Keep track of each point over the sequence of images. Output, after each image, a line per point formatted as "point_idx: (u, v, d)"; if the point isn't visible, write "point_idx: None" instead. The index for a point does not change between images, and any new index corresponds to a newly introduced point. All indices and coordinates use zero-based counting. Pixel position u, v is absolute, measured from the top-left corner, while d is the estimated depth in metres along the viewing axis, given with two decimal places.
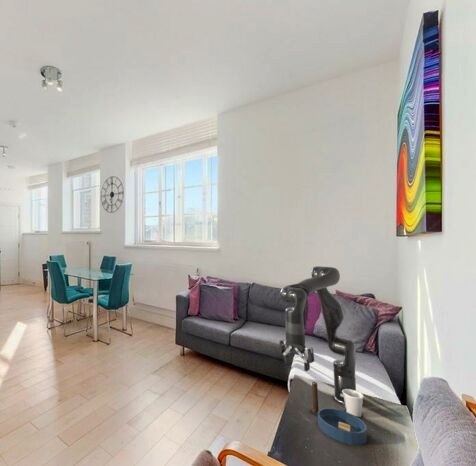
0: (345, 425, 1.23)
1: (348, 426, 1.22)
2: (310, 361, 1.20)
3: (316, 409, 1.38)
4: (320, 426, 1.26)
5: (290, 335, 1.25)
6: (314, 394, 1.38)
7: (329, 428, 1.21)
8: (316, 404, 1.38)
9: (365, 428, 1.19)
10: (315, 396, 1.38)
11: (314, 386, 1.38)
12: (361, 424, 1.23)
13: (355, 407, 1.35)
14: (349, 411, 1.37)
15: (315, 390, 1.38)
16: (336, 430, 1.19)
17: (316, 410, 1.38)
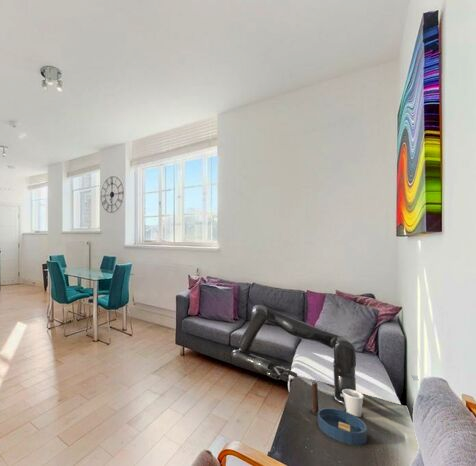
0: (345, 425, 1.23)
1: (348, 426, 1.22)
2: None
3: (316, 409, 1.38)
4: (320, 426, 1.26)
5: None
6: (314, 394, 1.38)
7: (329, 428, 1.21)
8: (316, 404, 1.38)
9: (365, 428, 1.19)
10: (315, 396, 1.38)
11: (314, 386, 1.38)
12: (361, 424, 1.23)
13: (355, 407, 1.35)
14: (349, 411, 1.37)
15: (315, 390, 1.38)
16: (336, 430, 1.19)
17: (316, 410, 1.38)
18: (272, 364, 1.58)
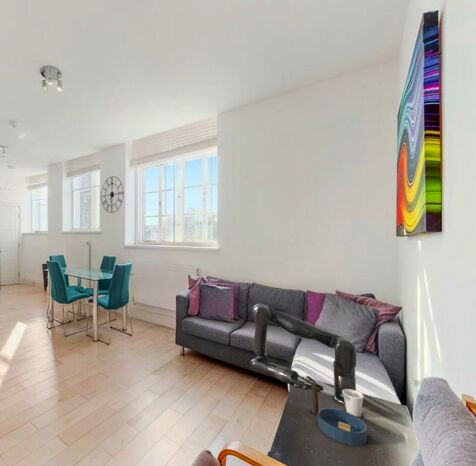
0: (345, 425, 1.23)
1: (348, 426, 1.22)
2: None
3: (316, 409, 1.38)
4: (320, 426, 1.26)
5: None
6: (314, 394, 1.38)
7: (329, 428, 1.21)
8: (316, 404, 1.38)
9: (365, 428, 1.19)
10: (315, 396, 1.38)
11: None
12: (361, 424, 1.23)
13: (355, 407, 1.35)
14: (349, 411, 1.37)
15: None
16: (336, 430, 1.19)
17: (316, 410, 1.38)
18: (295, 374, 1.48)
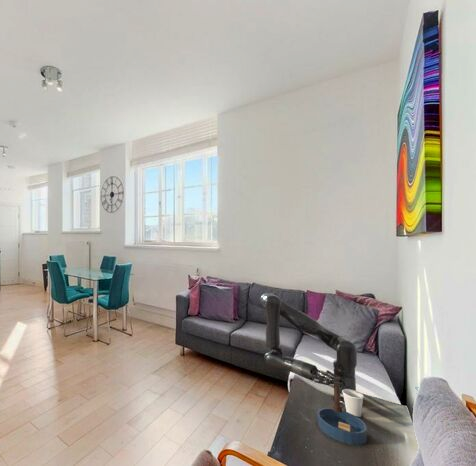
0: (345, 425, 1.23)
1: (348, 426, 1.22)
2: None
3: (338, 406, 1.28)
4: (320, 426, 1.26)
5: None
6: (336, 390, 1.29)
7: (329, 428, 1.21)
8: (338, 400, 1.28)
9: (365, 428, 1.19)
10: (337, 392, 1.28)
11: None
12: (361, 424, 1.23)
13: (355, 407, 1.35)
14: (349, 411, 1.37)
15: None
16: (336, 430, 1.19)
17: (338, 407, 1.28)
18: (315, 368, 1.38)
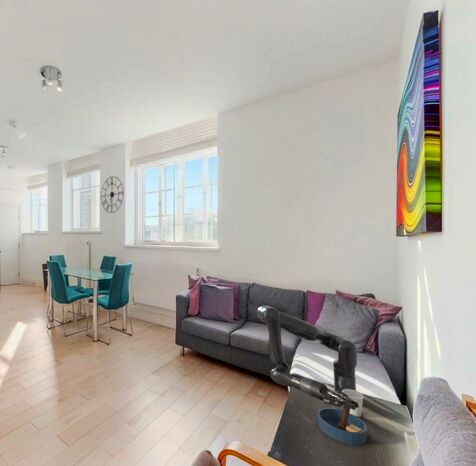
0: (356, 428, 1.20)
1: (358, 429, 1.19)
2: None
3: (344, 425, 1.22)
4: (320, 426, 1.26)
5: None
6: (346, 410, 1.22)
7: (329, 428, 1.21)
8: (345, 421, 1.22)
9: (365, 428, 1.19)
10: (347, 413, 1.21)
11: None
12: (361, 424, 1.23)
13: None
14: None
15: None
16: (336, 430, 1.19)
17: (344, 426, 1.22)
18: (324, 387, 1.31)
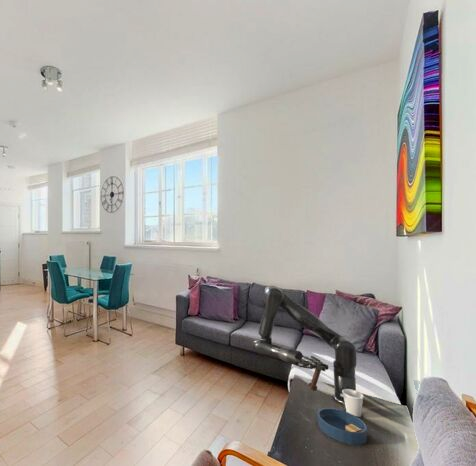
0: (355, 427, 1.21)
1: (357, 429, 1.20)
2: None
3: (314, 385, 1.38)
4: (320, 426, 1.26)
5: None
6: (317, 372, 1.36)
7: (329, 428, 1.21)
8: (316, 381, 1.37)
9: (365, 428, 1.19)
10: (317, 374, 1.36)
11: None
12: (361, 424, 1.23)
13: (355, 407, 1.35)
14: (349, 411, 1.37)
15: None
16: (336, 430, 1.19)
17: (314, 386, 1.38)
18: (300, 354, 1.45)
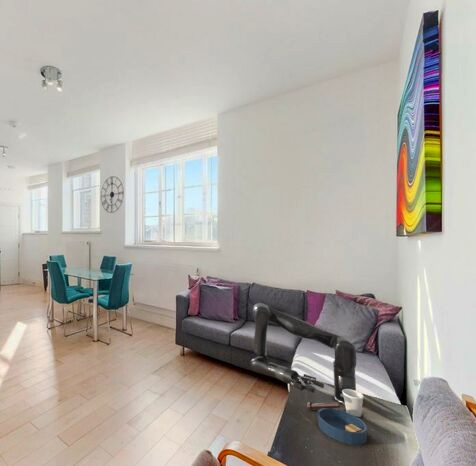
0: (355, 427, 1.21)
1: (357, 429, 1.20)
2: None
3: (313, 407, 1.39)
4: (320, 426, 1.26)
5: None
6: (327, 405, 1.34)
7: (329, 428, 1.21)
8: (318, 407, 1.38)
9: (365, 428, 1.19)
10: (326, 407, 1.35)
11: (336, 405, 1.31)
12: (361, 424, 1.23)
13: (355, 407, 1.35)
14: (349, 411, 1.37)
15: (332, 406, 1.33)
16: (336, 430, 1.19)
17: (312, 407, 1.40)
18: (295, 373, 1.48)
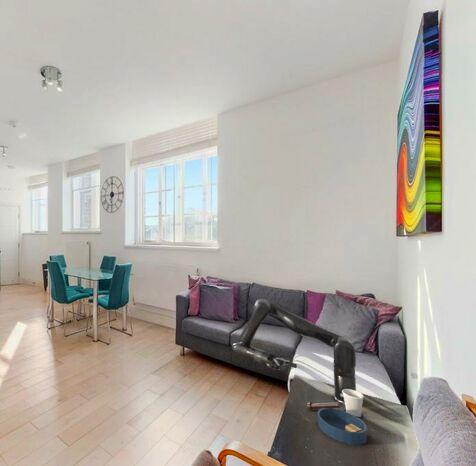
0: (355, 427, 1.21)
1: (357, 429, 1.20)
2: None
3: (313, 407, 1.39)
4: (320, 426, 1.26)
5: None
6: (327, 405, 1.34)
7: (329, 428, 1.21)
8: (318, 407, 1.38)
9: (365, 428, 1.19)
10: (326, 407, 1.35)
11: (336, 405, 1.31)
12: (361, 424, 1.23)
13: (355, 407, 1.35)
14: (349, 411, 1.37)
15: (332, 406, 1.33)
16: (336, 430, 1.19)
17: (312, 407, 1.40)
18: (272, 356, 1.59)
